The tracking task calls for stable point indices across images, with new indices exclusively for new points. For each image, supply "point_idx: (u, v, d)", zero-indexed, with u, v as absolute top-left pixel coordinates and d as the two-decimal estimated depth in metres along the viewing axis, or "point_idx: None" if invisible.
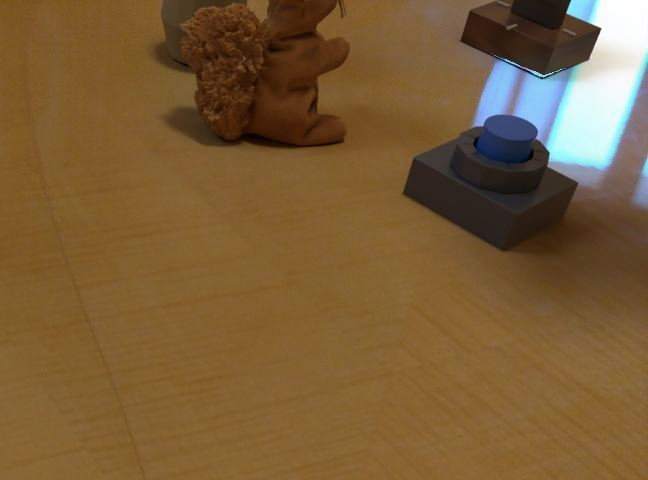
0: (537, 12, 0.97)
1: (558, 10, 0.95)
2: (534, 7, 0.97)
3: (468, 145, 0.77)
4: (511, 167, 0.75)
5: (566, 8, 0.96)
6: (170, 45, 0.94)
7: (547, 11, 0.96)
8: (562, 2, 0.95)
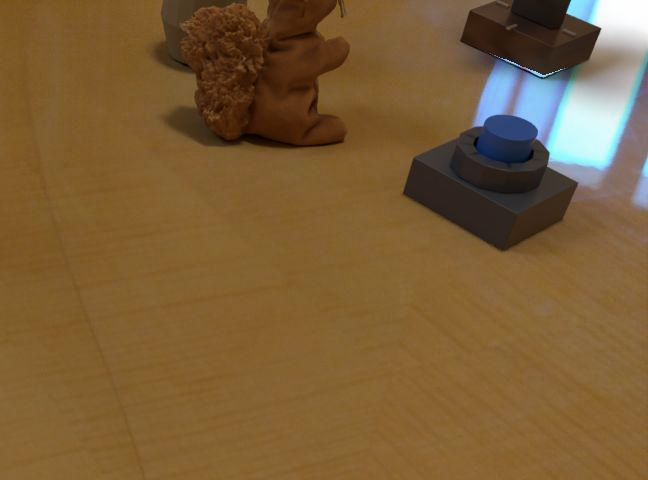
0: (537, 12, 0.97)
1: (558, 10, 0.95)
2: (534, 7, 0.97)
3: (468, 145, 0.77)
4: (511, 167, 0.75)
5: (566, 8, 0.96)
6: (170, 45, 0.94)
7: (547, 11, 0.96)
8: (562, 2, 0.95)
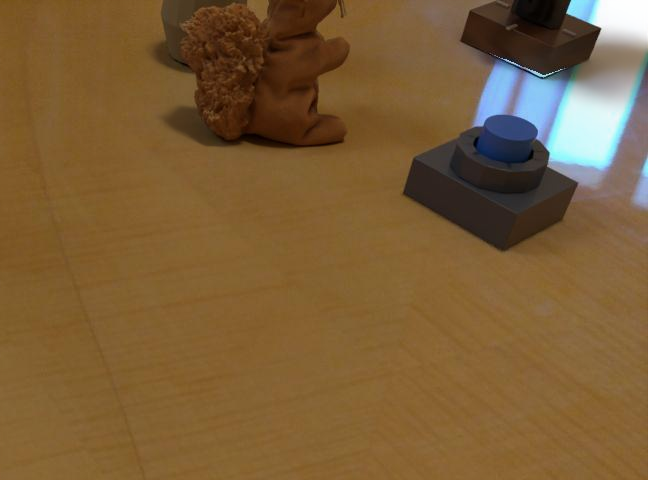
0: None
1: (558, 10, 0.95)
2: None
3: (468, 145, 0.77)
4: (511, 167, 0.75)
5: (566, 8, 0.96)
6: (170, 45, 0.94)
7: None
8: (562, 2, 0.95)
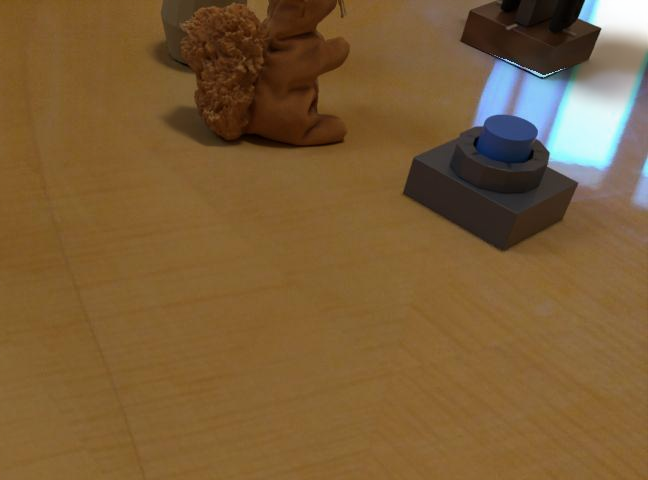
0: (547, 11, 0.97)
1: None
2: (546, 8, 0.97)
3: (468, 145, 0.77)
4: (511, 167, 0.75)
5: None
6: (170, 45, 0.94)
7: (555, 4, 0.97)
8: None
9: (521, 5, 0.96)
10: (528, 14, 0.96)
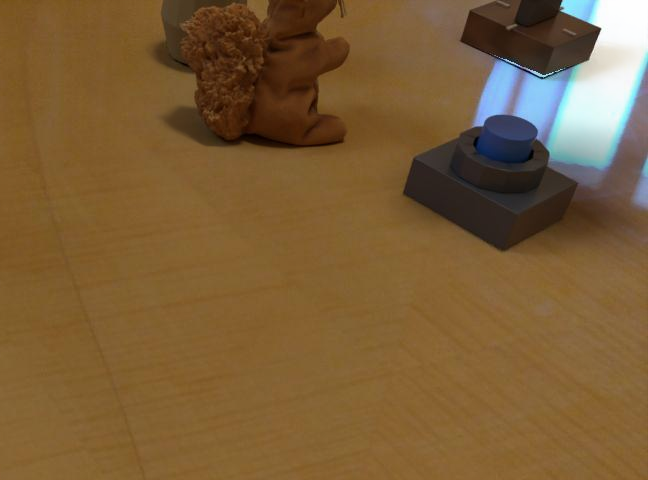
0: (547, 11, 0.97)
1: None
2: (546, 8, 0.97)
3: (468, 145, 0.77)
4: (511, 167, 0.75)
5: None
6: (170, 45, 0.94)
7: (555, 4, 0.97)
8: None
9: (521, 5, 0.96)
10: (528, 14, 0.96)
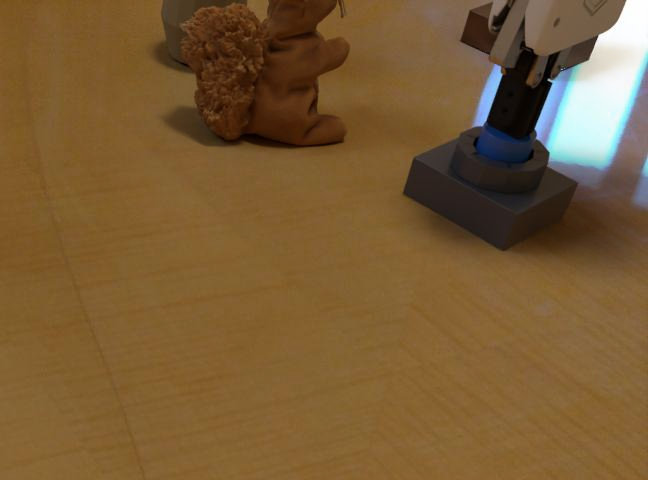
0: None
1: None
2: None
3: (468, 145, 0.77)
4: (511, 167, 0.75)
5: None
6: (170, 45, 0.94)
7: None
8: None
9: None
10: None
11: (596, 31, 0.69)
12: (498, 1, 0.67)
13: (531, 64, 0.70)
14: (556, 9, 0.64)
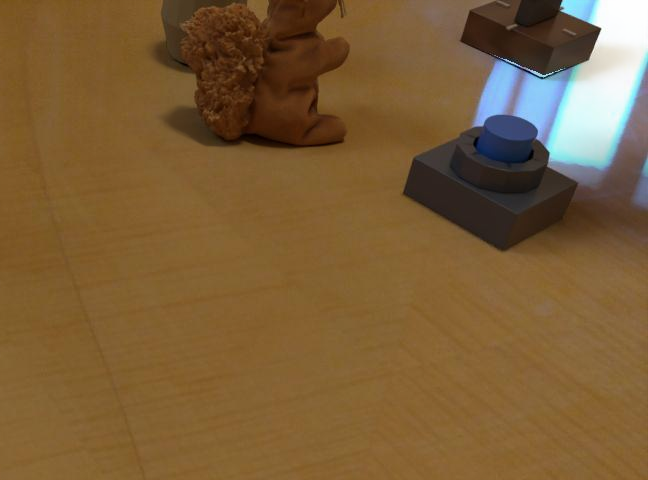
0: (547, 11, 0.97)
1: None
2: (546, 8, 0.97)
3: (468, 145, 0.77)
4: (511, 167, 0.75)
5: None
6: (170, 45, 0.94)
7: (555, 4, 0.97)
8: None
9: (521, 5, 0.96)
10: (528, 14, 0.96)
11: None
12: None
13: None
14: None
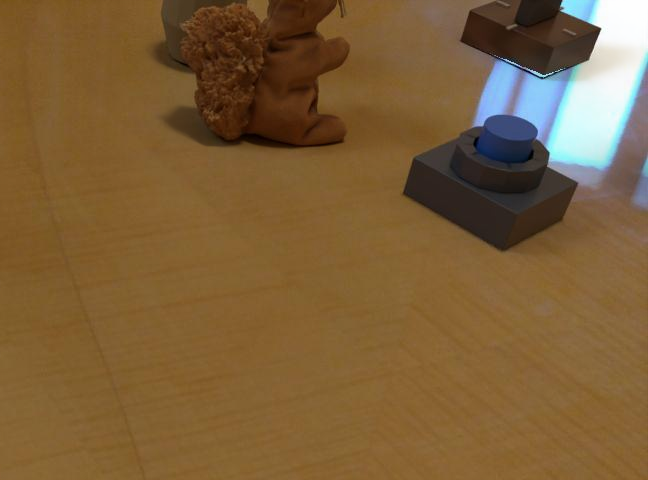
0: (547, 11, 0.97)
1: None
2: (546, 8, 0.97)
3: (468, 145, 0.77)
4: (511, 167, 0.75)
5: None
6: (170, 45, 0.94)
7: (555, 4, 0.97)
8: None
9: (521, 5, 0.96)
10: (528, 14, 0.96)
11: None
12: None
13: None
14: None
